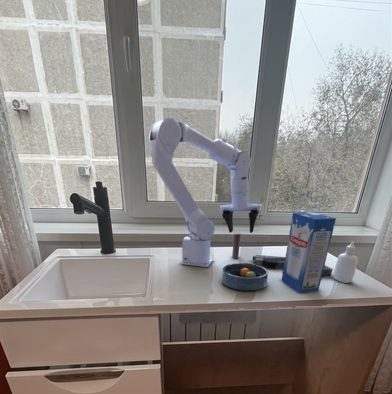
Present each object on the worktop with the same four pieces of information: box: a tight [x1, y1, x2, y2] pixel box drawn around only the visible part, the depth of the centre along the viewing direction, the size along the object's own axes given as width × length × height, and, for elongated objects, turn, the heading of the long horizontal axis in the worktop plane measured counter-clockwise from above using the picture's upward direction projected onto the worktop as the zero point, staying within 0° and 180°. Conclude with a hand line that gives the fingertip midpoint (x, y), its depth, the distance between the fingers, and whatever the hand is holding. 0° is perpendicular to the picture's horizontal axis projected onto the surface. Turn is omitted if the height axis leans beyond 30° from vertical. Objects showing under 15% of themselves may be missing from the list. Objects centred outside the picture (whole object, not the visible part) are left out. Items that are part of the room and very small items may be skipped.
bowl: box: [221, 262, 269, 292], centre depth 85 cm, size 13×13×4 cm
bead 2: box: [246, 271, 256, 278], centre depth 85 cm, size 3×3×3 cm
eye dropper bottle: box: [332, 241, 359, 284], centre depth 87 cm, size 4×6×12 cm
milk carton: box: [281, 211, 337, 294], centre depth 81 cm, size 10×6×20 cm, turn 16°
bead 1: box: [240, 268, 250, 277], centre depth 88 cm, size 3×3×3 cm
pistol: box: [252, 254, 333, 277], centre depth 98 cm, size 2×26×15 cm
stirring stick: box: [231, 232, 242, 259], centre depth 107 cm, size 2×2×9 cm
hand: (241, 231), depth 103 cm, fingers open, 7 cm apart
